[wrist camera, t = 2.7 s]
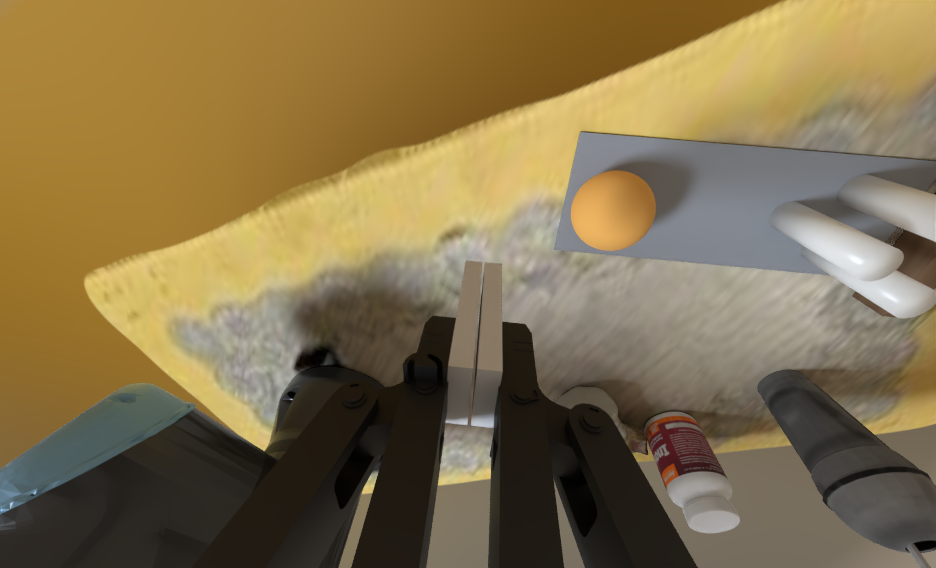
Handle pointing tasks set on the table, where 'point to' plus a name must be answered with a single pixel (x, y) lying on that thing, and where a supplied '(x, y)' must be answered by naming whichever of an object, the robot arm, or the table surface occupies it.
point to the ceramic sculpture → (606, 403)
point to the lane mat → (731, 196)
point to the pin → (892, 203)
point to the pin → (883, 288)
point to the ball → (613, 210)
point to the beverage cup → (854, 467)
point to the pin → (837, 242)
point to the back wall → (912, 264)
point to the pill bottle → (691, 472)
